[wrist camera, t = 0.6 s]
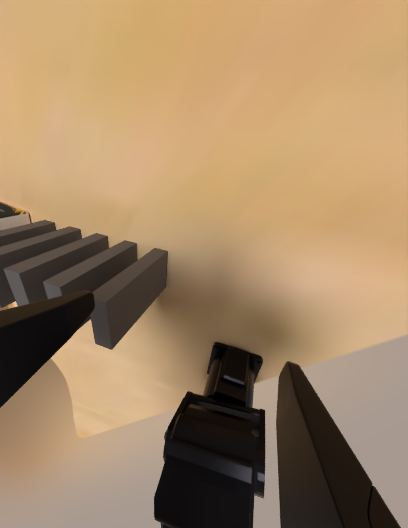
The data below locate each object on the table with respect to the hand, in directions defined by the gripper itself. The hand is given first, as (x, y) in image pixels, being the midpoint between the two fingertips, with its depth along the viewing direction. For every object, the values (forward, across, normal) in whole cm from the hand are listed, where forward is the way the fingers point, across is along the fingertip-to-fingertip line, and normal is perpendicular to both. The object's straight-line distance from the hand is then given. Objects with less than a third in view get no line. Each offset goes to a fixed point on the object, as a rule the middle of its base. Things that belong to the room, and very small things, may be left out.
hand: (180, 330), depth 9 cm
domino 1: (+13, +7, +5) cm, 16 cm away
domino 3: (+13, +15, +6) cm, 21 cm away
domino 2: (+13, +11, +6) cm, 18 cm away
